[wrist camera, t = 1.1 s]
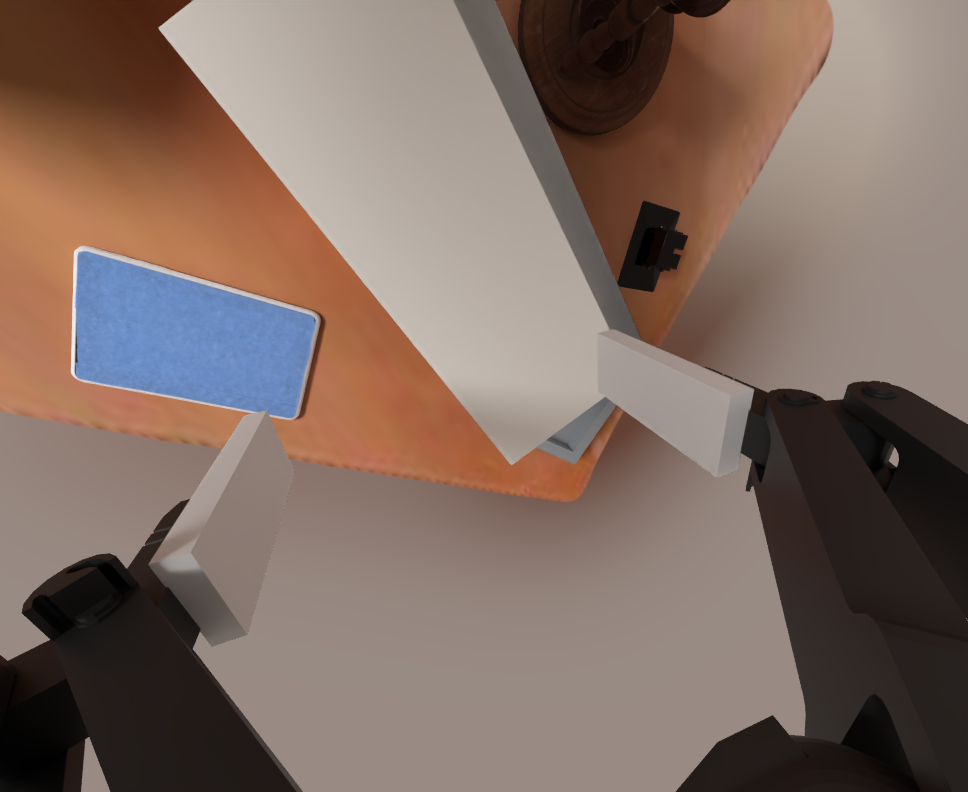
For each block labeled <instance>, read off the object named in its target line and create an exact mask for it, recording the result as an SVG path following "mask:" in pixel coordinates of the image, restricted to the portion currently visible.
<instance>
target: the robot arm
mask: <svg viewBox="0 0 968 792" xmlns="http://www.w3.org/2000/svg"><path fill="white" fill-rule="evenodd" d="M598 392H599V393H601V394H602V395H603V396H605V397H606V398H608V399H609V400H610V401H612V402H613V403H614V404H616V405H617V406H619V407H620V408H621V409H623V410H624V411H625V412H627V413H628V414H630V415H631V416H632V417H634V418H635V419H637V420H638V421H639V422H641V423H642V424H644V425H645V426H646V427H647V428H649V429H650V430H652V431H653V432H655V433H656V434H657V435H659V436H660V437H661V438H663V439H664V440H665V441H667V442H668V443H670V444H671V445H672V446H674V447H675V448H677V449H678V450H679V451H681V452H682V453H683V454H685V455H686V456H688V457H689V458H690V459H692V460H693V461H694V462H696V463H697V464H699V465H700V466H701V467H703V468H704V469H705V470H707V471H708V472H709V473H711V474H712V475H714V476H715V477H720V476H723V475H726V474H729V473H732V472H735V471H737V470H738V466H739V461H740V457H741V453H742V454H744V455H745V456H747V457H749V458H750V459H752V463H751V467H750V472H749V476H748V481H747V485H746V491H750V489H751V487H752V486H754V490H755V494H756V498H757V503H758V507H759V511H760V515H761V519H762V523H763V528H764V532H765V536H766V540H767V545H768V549H769V553H770V557H771V561H772V566H773V570H774V574H775V578H776V583H777V587H778V591H779V595H780V600H781V603H782V608H783V612H784V616H785V621H786V625H787V629H788V633H789V637H790V642H791V646H792V650H793V654H794V658H795V663H796V667H797V671H798V675H799V679H800V684H801V688H802V692H803V696H804V702H805V711H806V721H805V736H795V735H789V734H788V733H787V732H786V731H785V729H784V728H783V727H782V726H781V725H780V723H779V722H778V721H777V720H776V719H775V717H774V716H770V717H768V718H766V719H764V720H762V721H760V722H758V723H756V724H754V725H752V726H750V727H748V728H746V729H744V730H742V731H740V732H738V733H735V734H734V735H731V736H729V737H727V738H725V739H723V740H721V741H719V742H718V743H717V744H716V745H715V746H714V747H713V748H712V749H711V751H710V752H709V753H708V754H707V755H706V756H705V758H704V759H703V760H702V761H701V762H700V764H699V765H698V766H697V767H696V768H695V769H694V771H693V772H692V773H691V774H690V775H689V777H688V778H687V779H686V780H685V781H684V783H683V784H682V785H681V786H680V787H679V788H678V790H677V791H676V792H968V621H967V620H968V424H966V423H965V422H963V421H961V420H959V419H958V418H956V417H954V416H952V415H950V414H949V413H947V412H945V411H944V410H942V409H940V408H938V407H937V406H935V405H933V404H931V403H930V402H928V401H926V400H924V399H923V398H921V397H919V396H917V395H916V394H914V393H912V392H910V391H908V390H906V389H904V388H901V387H898V386H895V385H891V384H890V383H886V382H880V381H871V382H864V381H862V382H855V383H852V384H849V385H848V386H847V389H846V393H845V396H844V399H842V400H830V401H825V400H824V399H822V398H821V397H820V396H818V395H816V394H813V393H810V392H806V391H802V390H796V389H777V390H772V391H770V392H769V393H767V392H765V391H763V390H760V389H758V388H756V387H753V386H751V385H748V384H746V383H744V382H741V381H739V380H737V379H734V380H733V378H732V377H729V376H727V375H722V373H720V372H718V371H715V370H713V369H710V368H707V367H702V366H699V365H696V364H694V363H692V362H689V361H687V360H684V359H682V358H680V357H678V356H675V355H673V354H671V353H668V352H666V351H664V350H661V349H659V348H657V347H654V346H652V345H650V344H647V343H645V342H643V341H640V340H638V339H635V338H633V337H631V336H628V335H626V334H624V333H621V332H619V331H617V330H614V329H613V330H608V331H604V332H600V333H598ZM894 447H895V448H896V450H897V452H898V454H899V462H898V466H897V467H895V466H894V465H892V463H890V462H889V459H890V456H891V454H892V452H893V449H894ZM294 473H295V471H294V469H293V467H292V465H291V462H290V460H289V458H288V456H287V453H286V451H285V449H284V447H283V445H282V442H281V440H280V438H279V436H278V434H277V431H276V429H275V427H274V425H273V423H272V420H271V418H270V416H269V414H268V412H267V410H266V411H262V412H258V413H253V414H249V415H245V416H243V418H242V420H241V421H240V423H239V424H238V426H237V427H236V429H235V430H234V432H233V434H232V435H231V437H230V438H229V440H228V441H227V443H226V444H225V446H224V448H223V449H222V451H221V452H220V454H219V455H218V457H217V458H216V460H215V462H214V463H213V465H212V466H211V468H210V469H209V471H208V472H207V474H206V476H205V477H204V479H203V480H202V482H201V483H200V485H199V486H198V488H197V489H196V491H195V493H194V494H193V496H192V497H191V499H189V500H185V501H181V502H180V503H179V504H178V505H176V506H175V507H174V508H173V509H172V510H170V512H168V513H167V514H166V515H165V516H164V517H163V518H162V520H161V521H160V522H159V524H158V525H157V527H156V528H155V530H154V533H153V534H151V535H150V537H149V538H148V540H147V541H146V543H145V546H143V547H142V548H141V550H140V551H139V553H138V554H137V556H136V557H135V558H134V560H133V561H132V563H131V564H130V566H129V567H128V568H127V569H126V568H125V567H124V565H123V564H122V563H121V562H120V560H119V559H118V558H117V557H116V556H114V555H112V554H110V553H109V554H99V555H95V556H92V557H89V558H86V559H83V560H81V561H79V562H77V563H75V564H73V565H71V566H69V567H67V568H65V569H63V570H62V571H60V572H59V573H57V574H56V575H54V576H53V577H51V578H49V579H48V580H47V581H45V582H44V583H43V584H42V585H41V586H40V587H38V588H37V589H36V590H35V591H34V592H33V593H32V594H31V595H30V596H29V598H28V599H27V600H26V602H25V603H24V604H23V609H22V614H23V615H24V616H26V617H27V618H28V619H29V620H30V621H31V622H32V623H33V624H34V625H35V626H36V627H37V628H39V629H40V630H41V631H42V632H43V633H44V634H45V635H46V636H47V637H48V638H50V640H49V641H47V642H45V643H43V644H41V645H39V646H37V647H35V648H33V649H31V650H29V651H27V652H25V653H23V654H21V655H19V656H17V657H15V658H13V659H11V660H9V661H7V660H6V659H5V658H3V657H2V656H1V655H0V792H81V785H82V772H83V760H84V748H85V739H86V738H88V737H90V740H91V742H92V745H93V747H94V750H95V753H96V755H97V758H98V761H99V763H100V766H101V768H102V771H103V773H104V776H105V779H106V781H107V784H108V786H109V789H110V792H303V791H302V790H301V789H300V787H299V786H298V785H297V783H296V782H295V781H294V780H293V778H292V777H291V776H290V774H289V773H288V772H287V770H286V769H285V768H284V767H283V765H282V764H281V763H280V762H279V760H278V759H277V758H276V756H275V755H274V754H273V752H272V751H271V750H270V748H269V747H268V746H267V745H266V743H265V742H264V741H263V739H262V738H261V737H260V735H259V734H258V733H257V732H256V730H255V729H254V728H253V726H252V725H251V724H250V723H249V721H248V720H247V719H246V718H245V716H244V715H243V713H242V712H241V711H240V710H239V708H238V707H237V706H236V705H235V703H234V702H233V701H232V699H231V698H230V697H229V695H228V694H227V693H226V692H225V690H224V689H223V688H222V686H221V685H220V684H219V682H218V681H217V680H216V679H215V677H214V676H213V675H212V673H211V672H210V671H209V670H208V668H207V667H206V666H205V664H204V663H203V662H202V660H201V659H200V658H199V657H198V655H197V654H196V653H195V652H194V650H193V646H194V644H195V642H196V639H197V637H198V635H199V632H201V633H202V635H203V636H204V637H205V638H206V640H207V641H208V642H209V643H210V645H211V646H215V645H218V644H221V643H224V642H227V641H230V640H233V639H236V638H239V637H242V636H245V635H247V634H248V631H249V627H250V624H251V620H252V616H253V613H254V610H255V607H256V603H257V600H258V596H259V593H260V590H261V586H262V583H263V579H264V576H265V572H266V569H267V566H268V562H269V559H270V555H271V552H272V548H273V545H274V541H275V538H276V535H277V531H278V528H279V524H280V521H281V518H282V514H283V511H284V507H285V504H286V501H287V497H288V494H289V490H290V486H291V483H292V480H293V477H294ZM966 618H967V619H966Z"/></svg>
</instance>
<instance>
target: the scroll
mask: <svg viewBox="0 0 968 792" xmlns="http://www.w3.org/2000/svg"><path fill="white" fill-rule="evenodd" d="M729 1H730V0H521V5H520V12H519V21H518V41H519V51H520V58H521V62H522V64H523V66H524V69H525V71H526V73H527V75H528V78H529V80H530V82H531V85H532V87H533V89H534V92H535V94H536V96H537V99H538V101H539V103H540V106H541V108H542V110H543V111H544V113H545V114H546V115H547V116H548V117H549V118H550V119H551V120H552V121H554V122H555V123H556V124H557V125H559V126H560V127H562V128H564V129H566V130H568V131H570V132H573V133H576V134H580V135H599V134H603V133H607V132H609V131H612V130H614V129H616V128H619V127H621V126H623V125H624V124H626V123H627V122H629V121H630V120H632V119H633V118H634V117H635V116H636V115H637V114H638V113H639V112H640V111H641V110H642V109H643V108H644V107H645V105H646V104H647V103H648V102H649V100H650V99H651V97H652V96H653V94H654V92H655V91H656V89H657V87H658V85H659V83H660V81H661V79H662V76H663V74H664V71H665V68H666V65H667V62H668V58H669V54H670V50H671V45H672V38H673V26H674V14H679V13H682V12H684V13H686V14H688V15H690V16H693V17H707V16H710V15H713V14H715V13H717V12H718V11H720V10H721V9H722V8H723V7H724V6H726V5H727V3H728V2H729Z"/></svg>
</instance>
